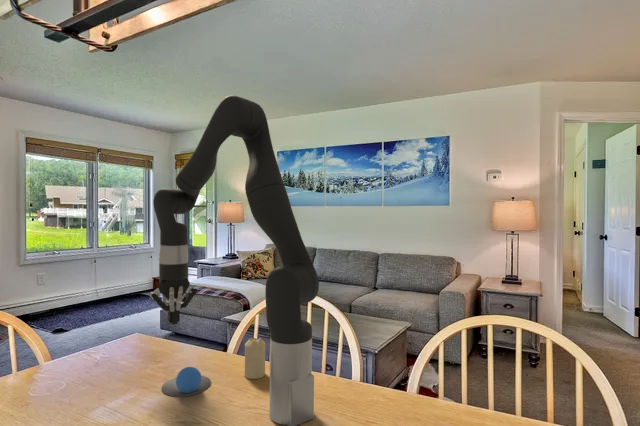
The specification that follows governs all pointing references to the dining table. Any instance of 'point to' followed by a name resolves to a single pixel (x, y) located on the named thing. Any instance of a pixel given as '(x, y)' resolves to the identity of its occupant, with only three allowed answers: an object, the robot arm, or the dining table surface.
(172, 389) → the disc
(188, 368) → the ball
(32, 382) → the dining table surface
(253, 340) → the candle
